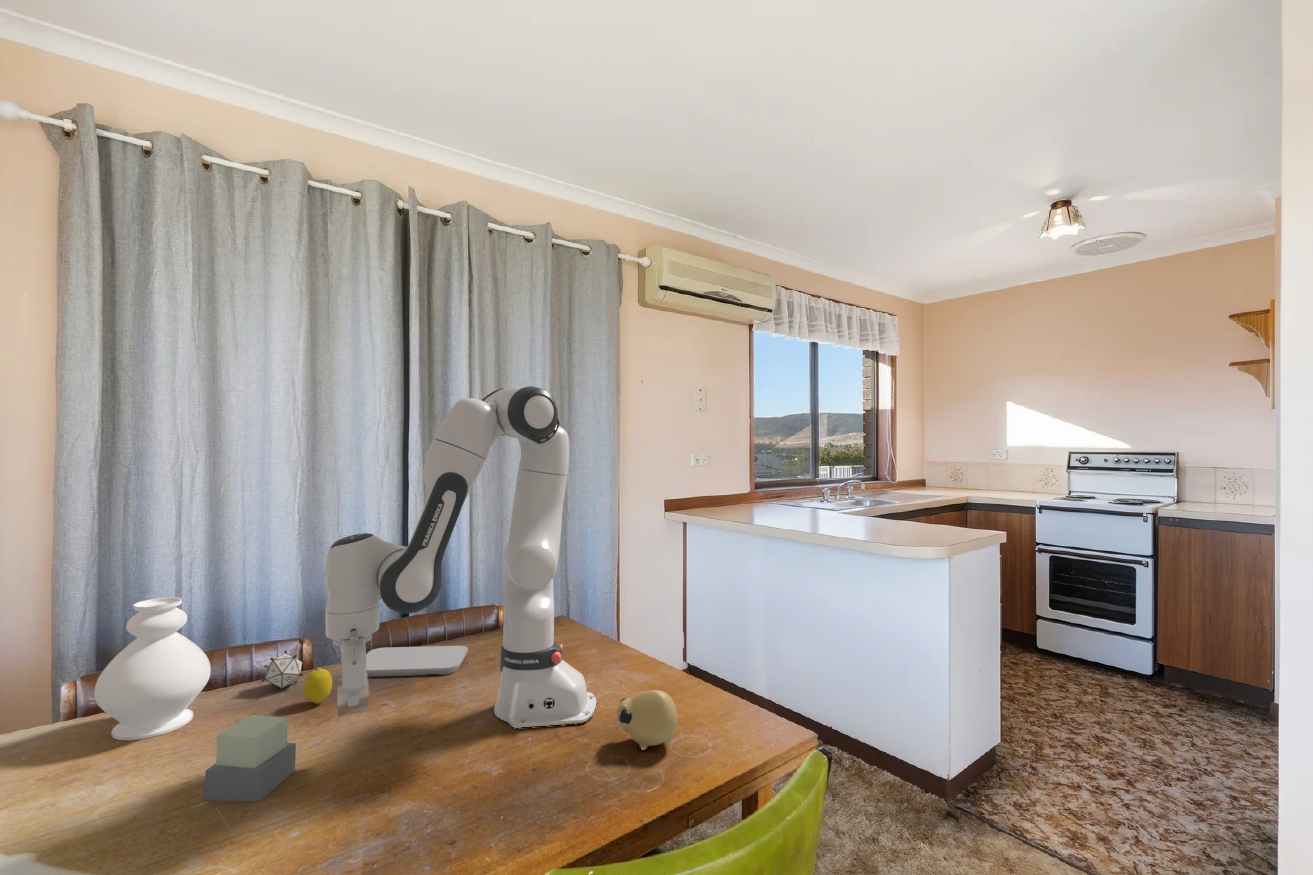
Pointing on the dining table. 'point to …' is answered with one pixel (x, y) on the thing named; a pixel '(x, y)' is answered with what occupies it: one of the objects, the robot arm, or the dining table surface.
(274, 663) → the game die
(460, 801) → the dining table surface
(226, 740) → the sage top block
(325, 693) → the lemon
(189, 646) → the decorative vase
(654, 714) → the toy pig
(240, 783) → the charcoal base block
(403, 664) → the tablet
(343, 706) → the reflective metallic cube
